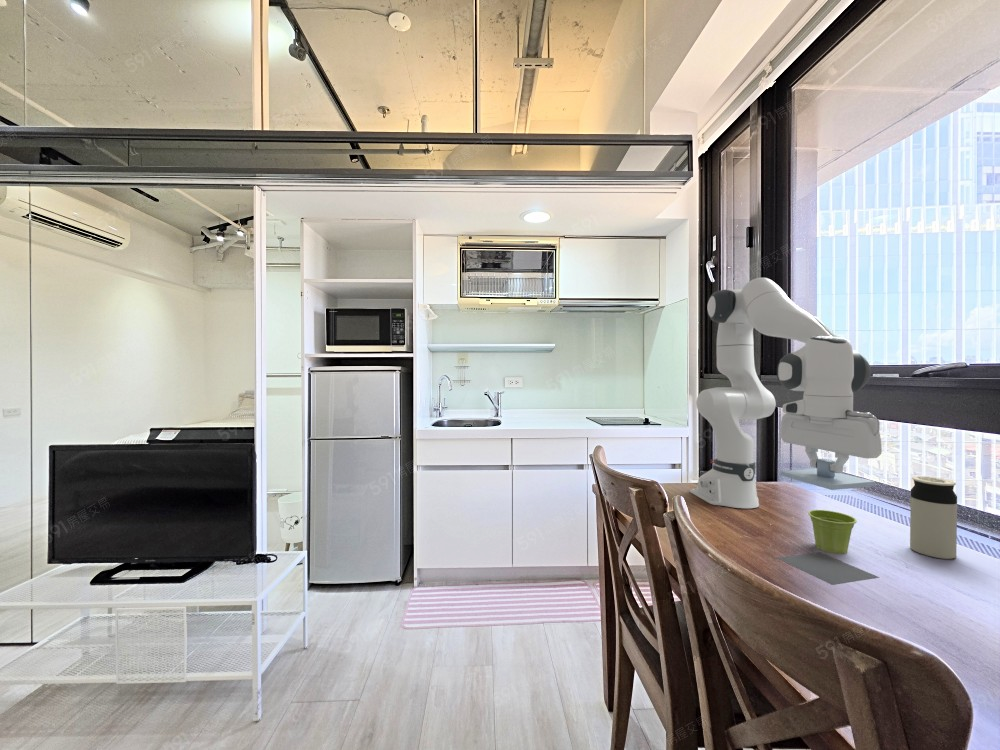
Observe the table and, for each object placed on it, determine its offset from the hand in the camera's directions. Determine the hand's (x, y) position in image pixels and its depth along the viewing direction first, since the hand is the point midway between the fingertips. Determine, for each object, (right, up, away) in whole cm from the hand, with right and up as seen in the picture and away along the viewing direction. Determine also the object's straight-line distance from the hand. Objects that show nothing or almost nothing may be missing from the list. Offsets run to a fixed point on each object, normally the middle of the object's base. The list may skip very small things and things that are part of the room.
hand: (825, 470), depth 95 cm
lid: (0, -2, 0) cm, 2 cm away
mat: (0, -22, 0) cm, 22 cm away
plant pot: (+9, -23, +10) cm, 26 cm away
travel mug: (+33, -23, +9) cm, 41 cm away
